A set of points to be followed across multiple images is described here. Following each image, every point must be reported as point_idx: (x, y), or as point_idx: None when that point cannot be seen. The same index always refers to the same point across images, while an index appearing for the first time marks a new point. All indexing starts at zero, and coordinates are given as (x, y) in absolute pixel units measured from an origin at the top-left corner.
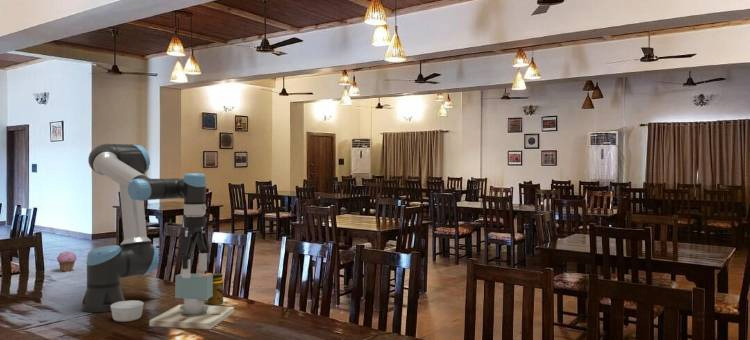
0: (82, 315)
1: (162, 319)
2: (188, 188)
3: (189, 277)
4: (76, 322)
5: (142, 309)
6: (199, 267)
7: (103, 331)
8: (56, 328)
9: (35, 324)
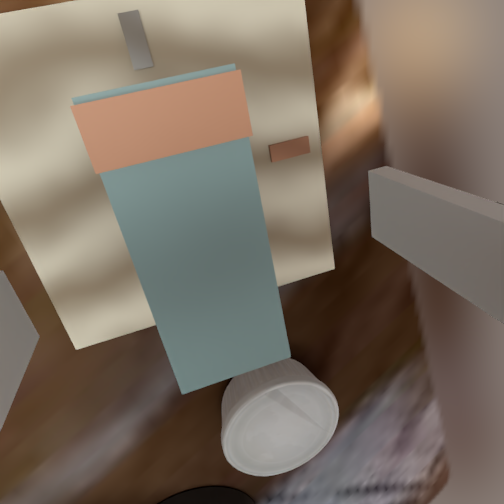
0: (287, 499)
1: (310, 234)
2: None
3: (386, 168)
4: (348, 455)
5: (248, 382)
6: (25, 354)
7: (404, 334)
8: (403, 443)
9: (385, 500)
